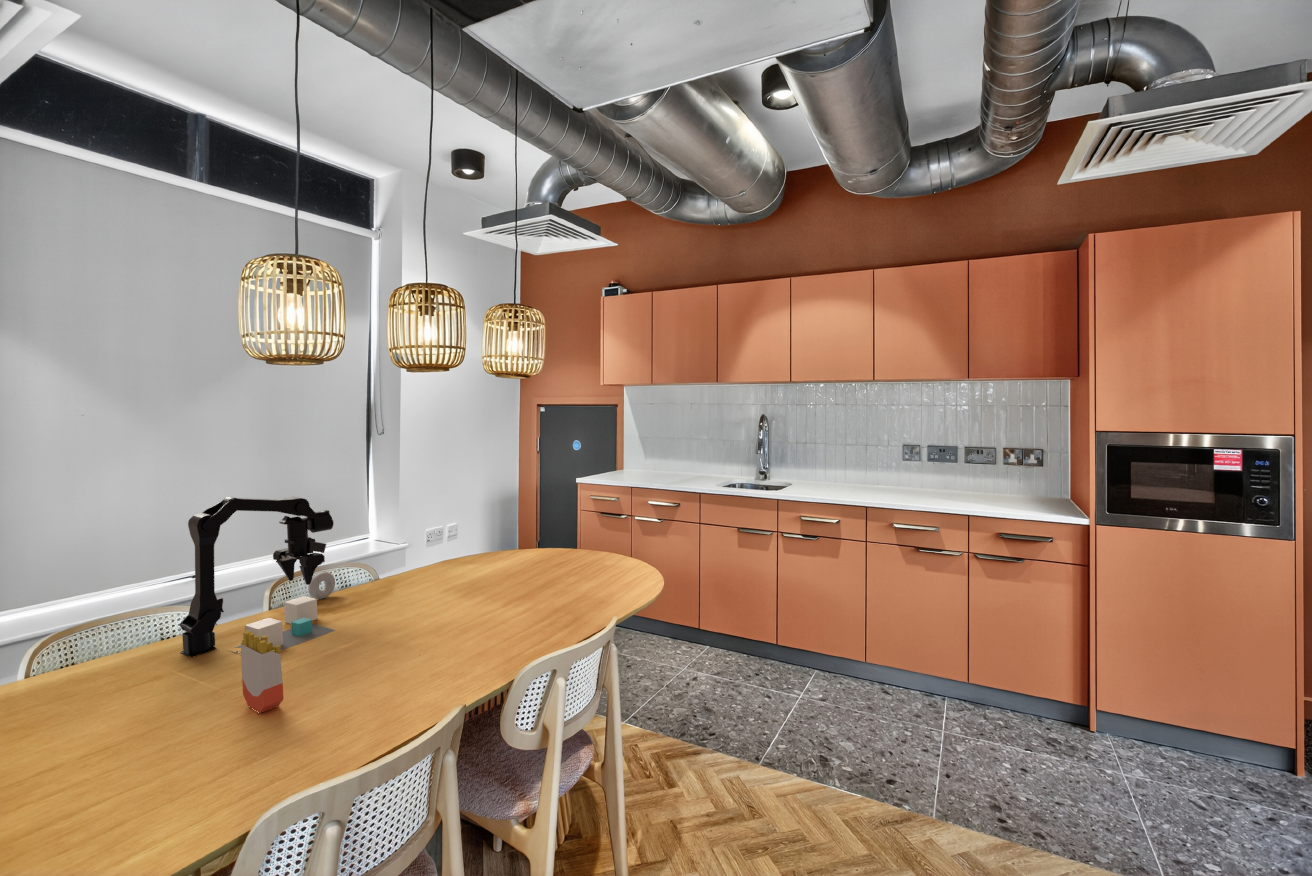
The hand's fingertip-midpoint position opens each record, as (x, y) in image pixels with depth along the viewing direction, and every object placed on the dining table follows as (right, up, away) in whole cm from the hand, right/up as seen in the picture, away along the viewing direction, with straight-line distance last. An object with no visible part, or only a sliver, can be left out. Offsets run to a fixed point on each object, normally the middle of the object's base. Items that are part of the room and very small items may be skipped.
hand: (299, 582), depth 193 cm
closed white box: (0, -13, +1) cm, 13 cm away
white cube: (+2, -14, -20) cm, 24 cm away
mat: (+4, -14, -15) cm, 21 cm away
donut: (-6, -12, +23) cm, 26 cm away
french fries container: (+24, -17, -53) cm, 61 cm away
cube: (+7, -13, -10) cm, 18 cm away
